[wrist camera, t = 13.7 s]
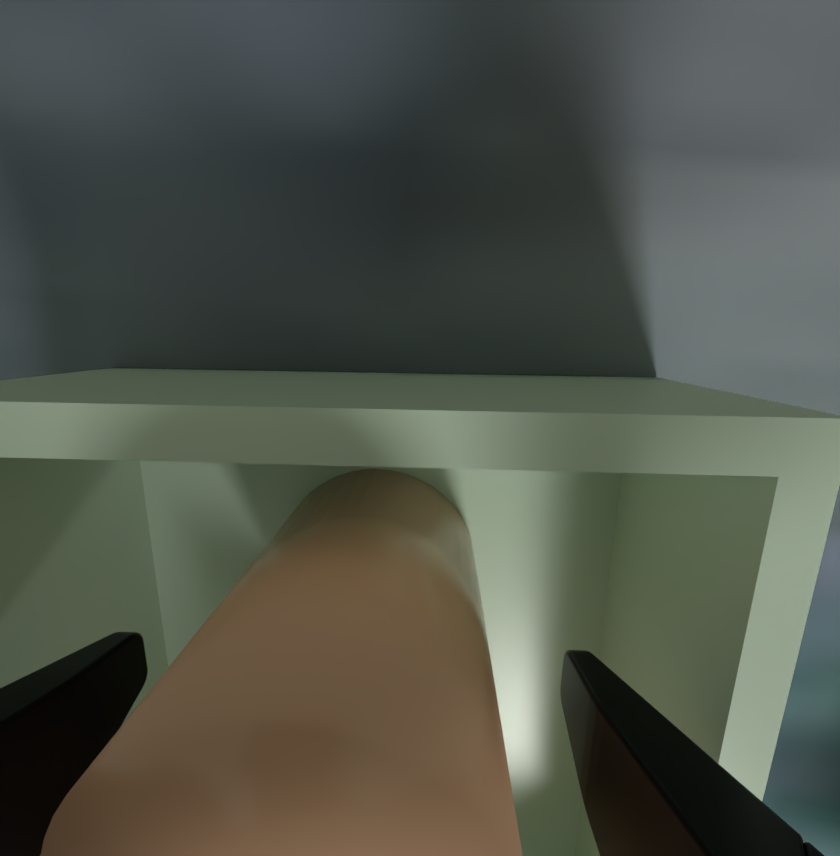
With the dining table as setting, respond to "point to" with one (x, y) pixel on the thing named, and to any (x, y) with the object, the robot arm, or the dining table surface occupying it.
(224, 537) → the tote
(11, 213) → the dining table surface
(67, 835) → the tan capsule
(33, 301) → the dining table surface
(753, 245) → the dining table surface
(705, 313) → the dining table surface
